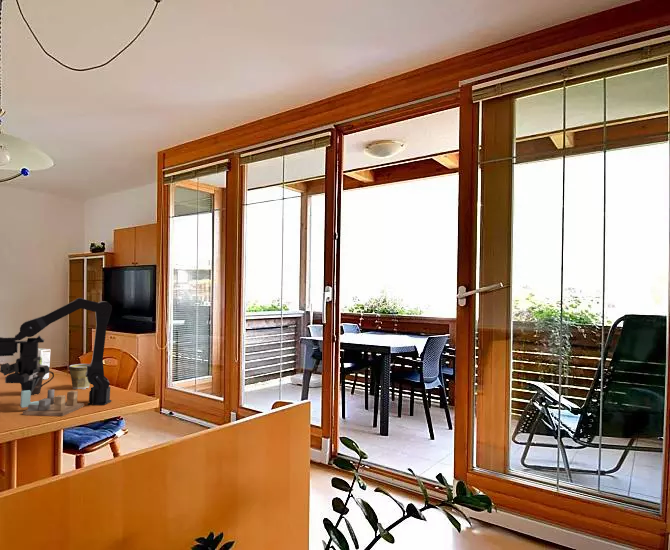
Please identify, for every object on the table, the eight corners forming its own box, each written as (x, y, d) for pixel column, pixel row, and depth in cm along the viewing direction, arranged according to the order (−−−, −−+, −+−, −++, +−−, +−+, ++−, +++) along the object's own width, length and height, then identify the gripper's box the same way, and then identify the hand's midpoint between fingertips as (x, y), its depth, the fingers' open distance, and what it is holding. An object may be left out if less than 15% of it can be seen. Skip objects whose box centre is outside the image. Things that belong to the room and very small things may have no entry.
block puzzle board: (83, 406, 178) (84, 389, 178) (62, 416, 164) (63, 397, 164) (47, 405, 178) (48, 387, 178) (22, 414, 164) (23, 395, 165)
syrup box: (29, 379, 224) (31, 349, 225) (40, 377, 230) (42, 347, 230) (38, 380, 223) (40, 349, 223) (49, 378, 228) (51, 348, 229)
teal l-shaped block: (42, 403, 175) (43, 388, 175) (44, 404, 173) (45, 389, 173) (20, 406, 170) (21, 390, 170) (21, 407, 168) (22, 392, 168)
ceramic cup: (93, 389, 208) (94, 366, 208) (67, 391, 203) (69, 367, 204) (93, 384, 219) (94, 362, 220) (68, 385, 215) (69, 363, 215)
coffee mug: (15, 396, 191) (16, 371, 191) (23, 391, 199) (24, 368, 199) (47, 395, 194) (48, 371, 194) (53, 391, 202) (55, 367, 202)
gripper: (20, 350, 182) (19, 391, 182) (-11, 359, 163) (-12, 404, 163) (50, 350, 183) (49, 391, 183) (23, 359, 164) (22, 404, 164)
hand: (27, 397), depth 173 cm, fingers closed
